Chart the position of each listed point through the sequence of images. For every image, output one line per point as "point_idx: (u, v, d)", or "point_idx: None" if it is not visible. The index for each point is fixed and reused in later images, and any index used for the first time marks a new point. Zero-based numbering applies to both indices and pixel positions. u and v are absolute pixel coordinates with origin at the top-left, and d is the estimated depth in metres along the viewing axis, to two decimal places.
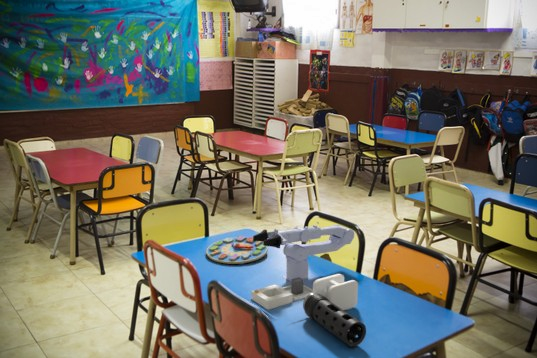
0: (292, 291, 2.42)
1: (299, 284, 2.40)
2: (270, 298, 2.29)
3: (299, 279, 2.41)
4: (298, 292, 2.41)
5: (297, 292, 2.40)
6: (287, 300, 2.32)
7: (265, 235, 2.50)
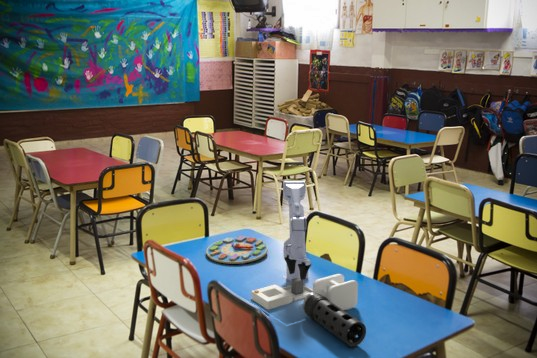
0: (292, 291, 2.42)
1: (299, 284, 2.40)
2: (270, 298, 2.29)
3: (299, 279, 2.41)
4: (298, 292, 2.41)
5: (297, 292, 2.40)
6: (287, 300, 2.32)
7: (291, 260, 2.42)
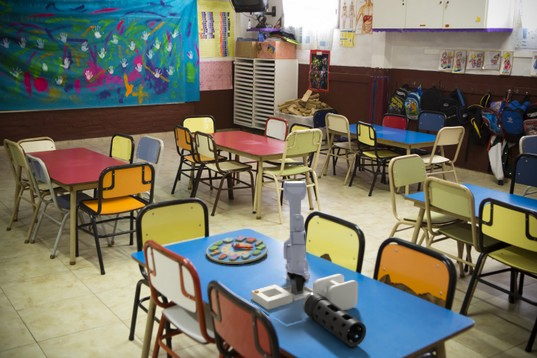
0: (292, 291, 2.42)
1: None
2: (270, 298, 2.29)
3: None
4: (298, 292, 2.41)
5: (297, 292, 2.40)
6: (287, 300, 2.32)
7: (293, 275, 2.42)
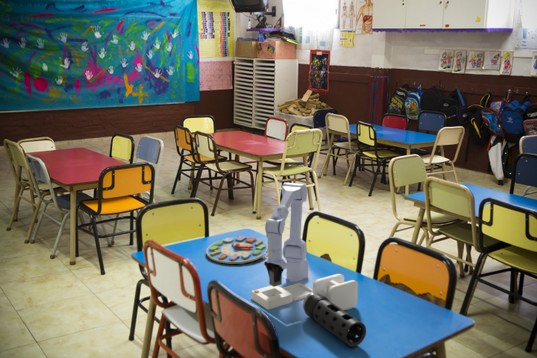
0: (270, 282, 2.34)
1: None
2: (270, 298, 2.29)
3: None
4: (276, 283, 2.33)
5: (275, 283, 2.33)
6: (287, 300, 2.32)
7: (271, 265, 2.34)
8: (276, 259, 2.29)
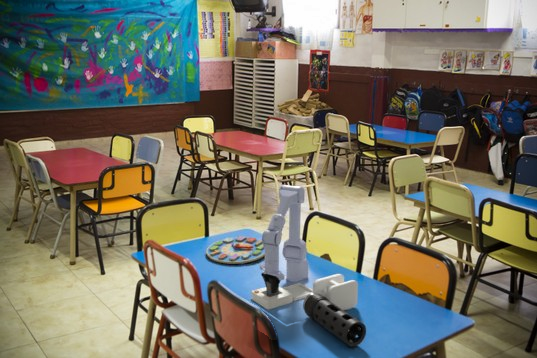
0: (267, 293, 2.34)
1: None
2: (270, 298, 2.29)
3: None
4: (273, 294, 2.33)
5: (272, 294, 2.33)
6: (287, 300, 2.32)
7: (268, 276, 2.34)
8: (273, 270, 2.29)
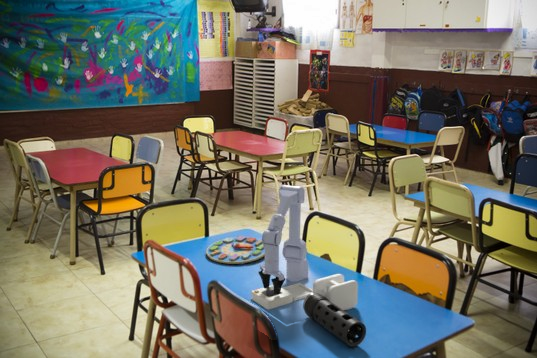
0: None
1: None
2: (270, 298, 2.29)
3: None
4: None
5: None
6: (287, 300, 2.32)
7: (265, 274, 2.36)
8: (273, 270, 2.29)
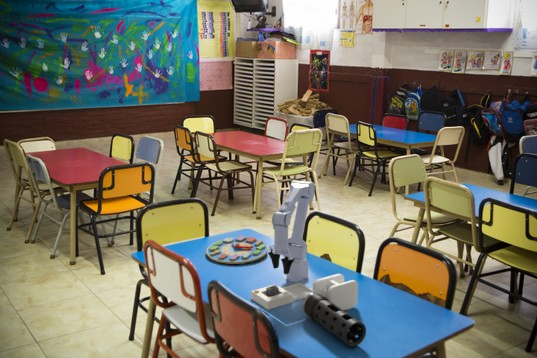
0: None
1: (274, 292, 2.33)
2: (270, 298, 2.29)
3: (274, 288, 2.34)
4: None
5: None
6: (287, 300, 2.32)
7: (275, 255, 2.44)
8: (283, 250, 2.38)
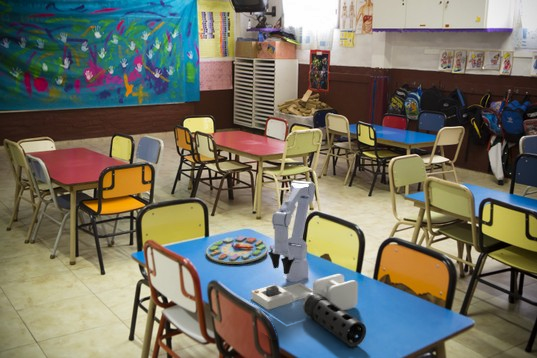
0: None
1: (274, 292, 2.33)
2: (270, 298, 2.29)
3: (274, 288, 2.34)
4: None
5: None
6: (287, 300, 2.32)
7: (275, 254, 2.44)
8: (283, 250, 2.38)
